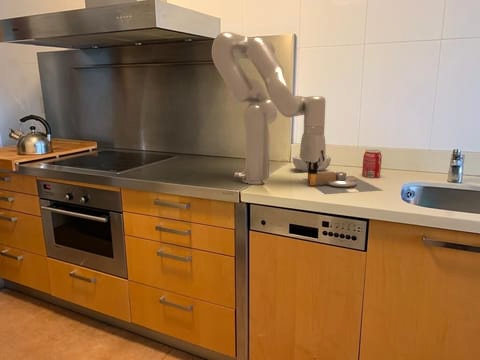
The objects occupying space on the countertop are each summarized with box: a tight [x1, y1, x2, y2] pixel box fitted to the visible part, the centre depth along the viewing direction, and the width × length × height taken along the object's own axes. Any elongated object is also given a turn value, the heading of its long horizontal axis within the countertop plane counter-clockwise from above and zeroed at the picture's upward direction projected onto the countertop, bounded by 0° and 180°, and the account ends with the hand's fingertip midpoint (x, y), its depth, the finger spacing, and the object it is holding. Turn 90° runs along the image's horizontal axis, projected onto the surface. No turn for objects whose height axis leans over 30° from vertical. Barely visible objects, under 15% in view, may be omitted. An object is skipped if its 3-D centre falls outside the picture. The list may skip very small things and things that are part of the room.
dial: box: [307, 171, 357, 187], centre depth 134 cm, size 18×12×4 cm, turn 101°
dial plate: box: [302, 175, 384, 195], centre depth 135 cm, size 22×22×2 cm
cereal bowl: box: [292, 153, 332, 174], centre depth 162 cm, size 17×17×7 cm
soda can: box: [361, 149, 383, 179], centre depth 145 cm, size 7×7×12 cm
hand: (312, 178), depth 136 cm, fingers closed
